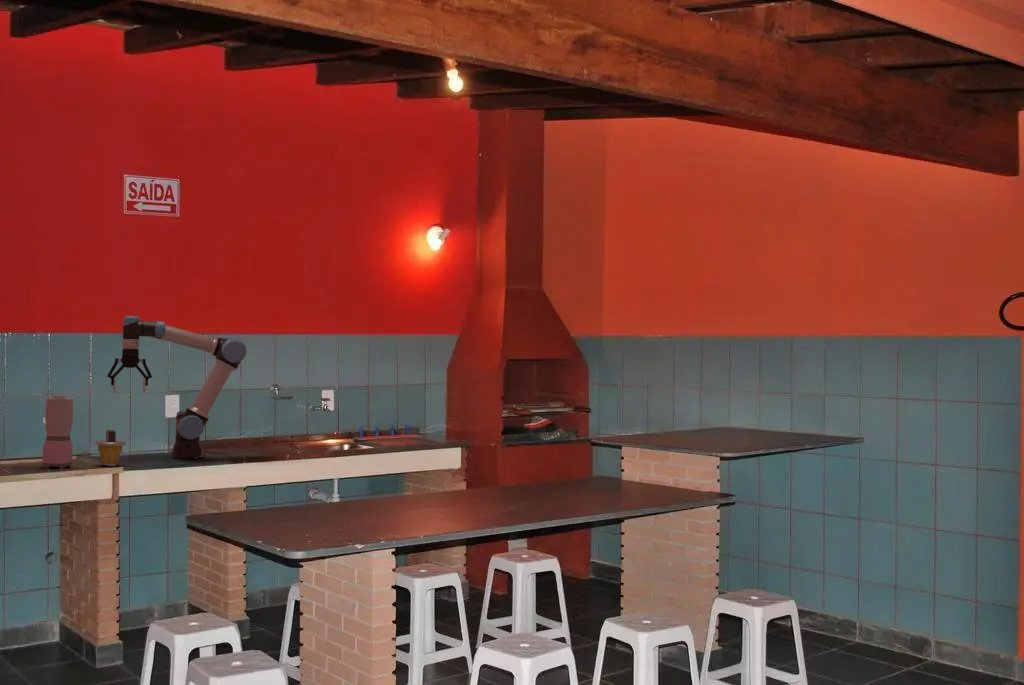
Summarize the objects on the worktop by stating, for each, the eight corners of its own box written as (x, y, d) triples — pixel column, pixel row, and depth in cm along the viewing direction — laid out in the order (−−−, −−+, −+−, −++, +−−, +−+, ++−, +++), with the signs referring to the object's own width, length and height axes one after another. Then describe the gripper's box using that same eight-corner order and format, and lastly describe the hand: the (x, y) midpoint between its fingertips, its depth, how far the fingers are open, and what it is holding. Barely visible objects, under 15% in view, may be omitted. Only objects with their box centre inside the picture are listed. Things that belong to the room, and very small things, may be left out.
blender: (68, 469, 475) (71, 396, 475) (38, 468, 473) (41, 395, 473) (76, 465, 490) (79, 395, 491) (48, 464, 488) (51, 394, 489)
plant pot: (125, 465, 499) (126, 444, 499) (115, 467, 488) (116, 445, 488) (104, 464, 500) (104, 442, 500) (93, 466, 489) (94, 444, 489)
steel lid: (123, 443, 503) (124, 429, 503) (127, 445, 491) (127, 432, 491) (93, 443, 497) (94, 429, 497) (96, 445, 485) (97, 432, 485)
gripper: (104, 347, 510) (102, 392, 510) (158, 349, 521) (157, 393, 521) (102, 347, 517) (100, 391, 516) (156, 349, 528) (154, 392, 528)
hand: (129, 392), depth 519 cm, fingers open, 13 cm apart
